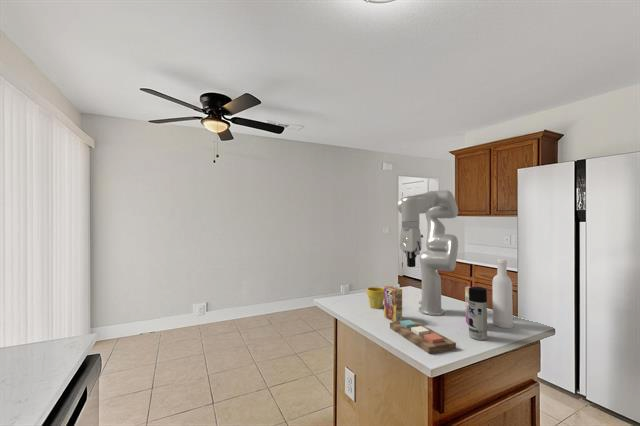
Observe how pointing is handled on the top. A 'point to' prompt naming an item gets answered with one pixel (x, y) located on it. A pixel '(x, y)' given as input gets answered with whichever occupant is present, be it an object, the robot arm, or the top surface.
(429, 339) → the brick red button
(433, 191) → the robot arm
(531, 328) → the top surface
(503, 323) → the bottle
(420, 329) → the cream button
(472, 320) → the spray can
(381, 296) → the plant pot
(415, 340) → the control board
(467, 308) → the candy bar box
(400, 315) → the candy box
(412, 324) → the teal button
